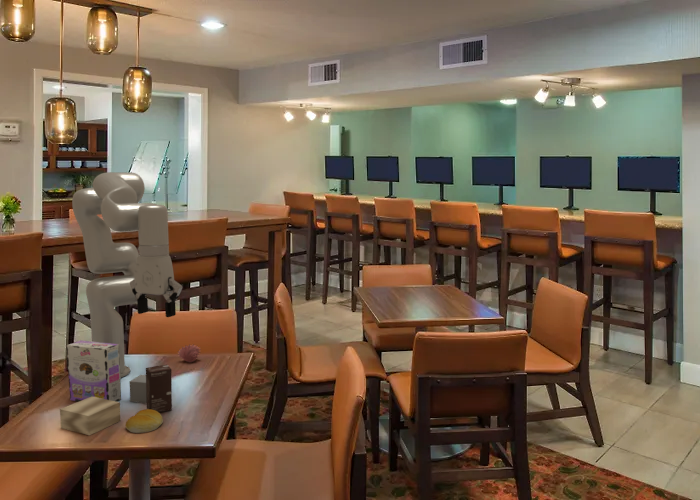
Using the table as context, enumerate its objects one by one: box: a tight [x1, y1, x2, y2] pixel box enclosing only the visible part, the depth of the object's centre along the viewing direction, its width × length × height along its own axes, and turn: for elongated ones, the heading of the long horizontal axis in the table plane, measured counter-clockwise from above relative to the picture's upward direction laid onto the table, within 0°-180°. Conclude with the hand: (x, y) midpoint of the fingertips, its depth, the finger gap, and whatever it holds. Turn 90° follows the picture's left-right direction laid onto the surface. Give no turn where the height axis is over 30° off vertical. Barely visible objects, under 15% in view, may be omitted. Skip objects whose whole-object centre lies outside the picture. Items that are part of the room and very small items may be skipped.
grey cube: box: [128, 374, 146, 404], centre depth 173 cm, size 6×6×6 cm
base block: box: [59, 396, 122, 436], centre depth 155 cm, size 10×10×5 cm
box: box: [145, 364, 173, 413], centre depth 164 cm, size 6×4×12 cm
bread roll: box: [125, 408, 164, 434], centre depth 154 cm, size 8×9×4 cm
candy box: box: [66, 339, 122, 402], centre depth 172 cm, size 14×6×16 cm, turn 71°
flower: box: [177, 344, 202, 363], centre depth 208 cm, size 8×8×6 cm
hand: (156, 314), depth 162 cm, fingers open, 9 cm apart
